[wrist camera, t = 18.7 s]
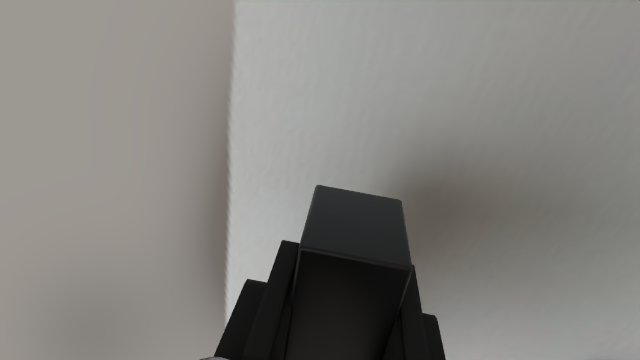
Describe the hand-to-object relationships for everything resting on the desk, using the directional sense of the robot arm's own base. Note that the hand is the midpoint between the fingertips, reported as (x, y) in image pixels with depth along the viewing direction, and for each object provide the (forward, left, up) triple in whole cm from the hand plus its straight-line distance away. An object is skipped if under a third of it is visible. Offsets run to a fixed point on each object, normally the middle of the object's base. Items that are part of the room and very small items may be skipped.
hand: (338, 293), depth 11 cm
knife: (+7, -2, -1) cm, 7 cm away
